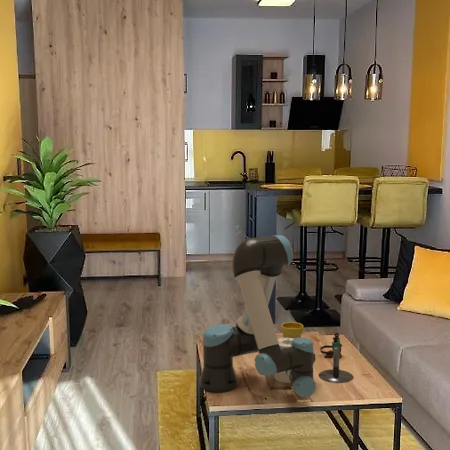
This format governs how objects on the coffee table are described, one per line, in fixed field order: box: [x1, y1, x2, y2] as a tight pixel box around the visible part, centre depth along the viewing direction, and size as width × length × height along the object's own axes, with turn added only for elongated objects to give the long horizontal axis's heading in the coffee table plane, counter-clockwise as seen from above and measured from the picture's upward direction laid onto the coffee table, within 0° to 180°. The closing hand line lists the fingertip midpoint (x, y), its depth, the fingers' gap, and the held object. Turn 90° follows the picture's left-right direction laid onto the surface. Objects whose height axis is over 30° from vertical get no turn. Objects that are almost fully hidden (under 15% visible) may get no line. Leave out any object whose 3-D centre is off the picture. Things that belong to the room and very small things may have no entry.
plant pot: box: [280, 321, 304, 339], centre depth 278 cm, size 10×10×10 cm
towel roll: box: [275, 337, 293, 383], centre depth 236 cm, size 10×10×15 cm
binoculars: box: [319, 332, 343, 360], centre depth 261 cm, size 9×11×10 cm
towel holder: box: [318, 347, 354, 384], centre depth 238 cm, size 14×14×13 cm
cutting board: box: [265, 374, 293, 391], centre depth 237 cm, size 16×16×1 cm
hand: (286, 351), depth 239 cm, fingers open, 13 cm apart
